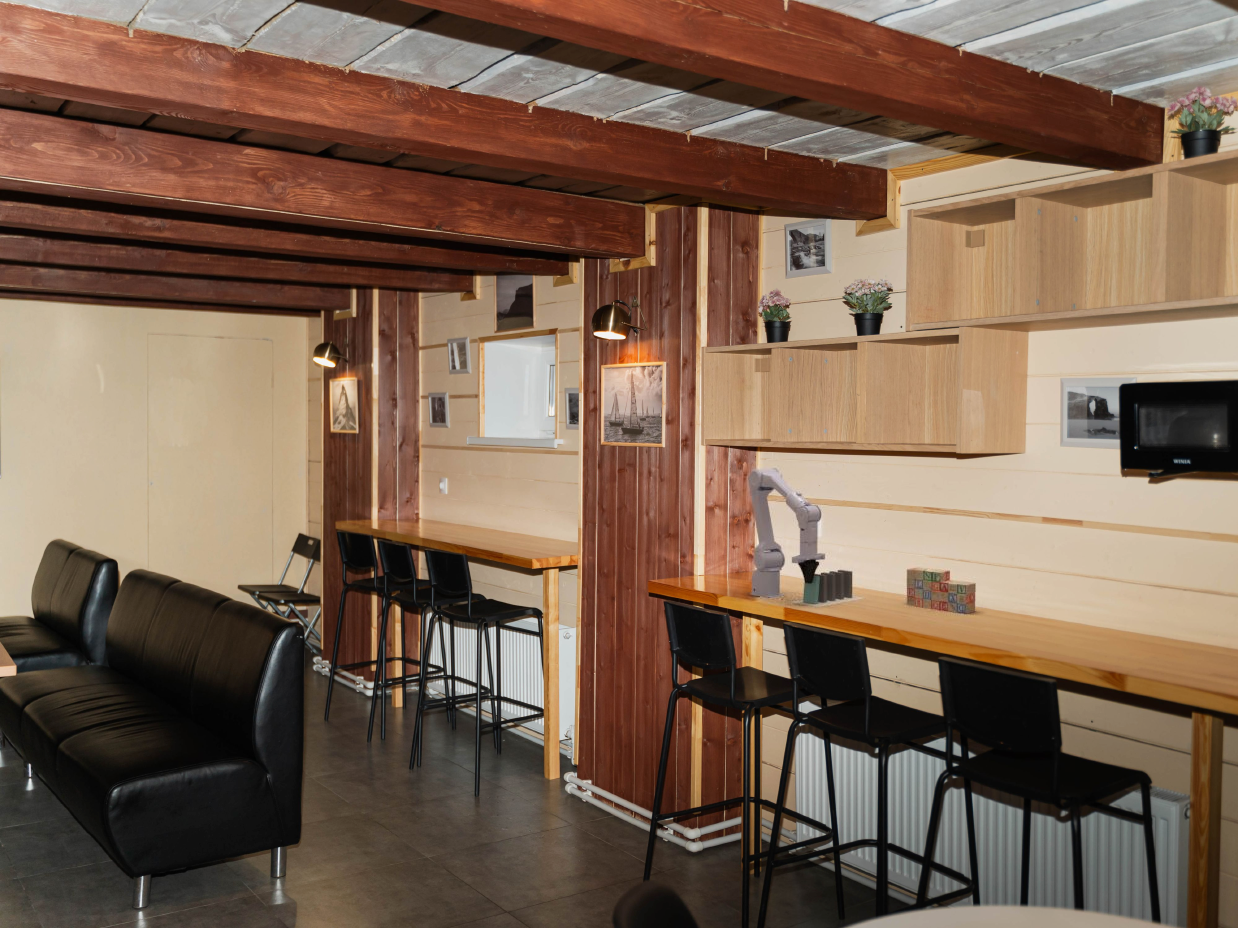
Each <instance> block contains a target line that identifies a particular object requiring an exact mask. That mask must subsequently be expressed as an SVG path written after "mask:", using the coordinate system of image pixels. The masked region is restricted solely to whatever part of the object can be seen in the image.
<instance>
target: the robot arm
mask: <svg viewBox="0 0 1238 928" xmlns="http://www.w3.org/2000/svg"><path fill="white" fill-rule="evenodd" d="M747 479H748V486H749V492H750V497H751V502H752V504H751V505H752V508H753V510H752V511H753V516H754V523H755V527H756V533H757V538H758V545H756V546H755V548H753V565H754V567H755V568H756V569H755V570H754V571H753V572H752V574H751V593H750V594H749V595H750V596H754V597H755V596H756V597H764V598H767V599H768V598H772V599H773V598H777V597H783V596H785V595H786V594H784V593H781V588H780V587H781V582H780V579H781V577H780V576H781V572H780V571H782V568H783V567H784V566H785V564H786V563H785V562H786V556H785V554H784V552H783V551H782V550H783V549H782V546H781V544H779V543H777V542H776V541H775V537H774V536H775V535H774V529H773V525H772V519H771V518H772V517H771V512H770V507H769V500H768V496H769V494H771V493H772V492H773V491H774V490H775V491H776V492H778V494H780V495H781V496H782V497H784V499H785V503H786V504H785V505H786V506H788V507H789V509H791V510H792V511H793V512H794V514H795V518H796V520H797V523H798V524H797V525H798V529H799V555H795V556H792V557H791V563H792V564H797V565H798V567H799V568H800V571H801V573H802V577H803V582H805V583H808V584H810V583H812V582H813V578H814V574H816V571H817V569H818V567H819V566H820V561H821V560H823V561H824V560H826V553H821V552H819V553H818V540H819V539H818V538H819V537H818V532H819V531H818V527H819V524H818V523H819V522H820V521H821V519H822V509H821V508H820V506H819V505H817V504H812V503H810V501H809V500H807V498H805V497H804V496H803V494H802V492H800V491H793V490H792V488H791V487H790V486H789V485H788V483H787V482H786V480H785V479H783V473H782V472H780V470H779V469H777V468H762V469H761V468H760V469H757V468H754V469H752V470H751V471H750V473H749V475H748V477H747Z"/></svg>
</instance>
